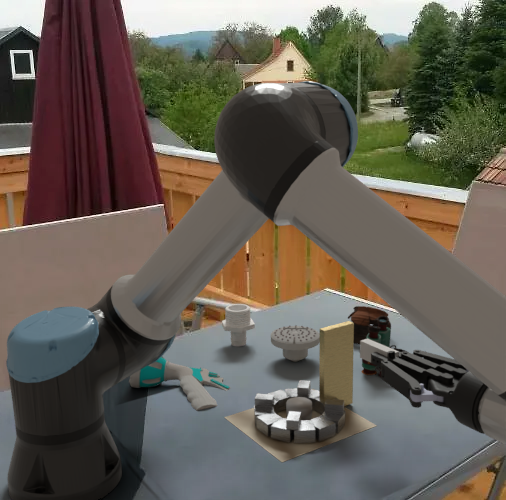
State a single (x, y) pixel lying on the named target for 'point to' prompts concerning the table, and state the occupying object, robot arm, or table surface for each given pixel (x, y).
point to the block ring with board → (314, 393)
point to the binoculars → (379, 336)
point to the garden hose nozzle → (188, 380)
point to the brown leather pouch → (365, 321)
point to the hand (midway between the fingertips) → (363, 348)
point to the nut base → (292, 450)
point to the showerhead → (295, 341)
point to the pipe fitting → (238, 323)
